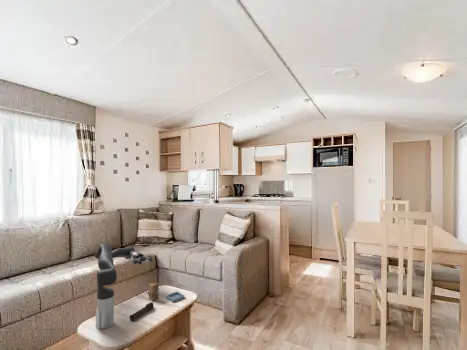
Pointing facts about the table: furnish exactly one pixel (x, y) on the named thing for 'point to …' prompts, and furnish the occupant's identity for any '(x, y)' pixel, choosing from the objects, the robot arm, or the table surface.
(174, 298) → the tray
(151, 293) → the walnut block
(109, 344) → the table surface
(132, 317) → the brown rough rod
